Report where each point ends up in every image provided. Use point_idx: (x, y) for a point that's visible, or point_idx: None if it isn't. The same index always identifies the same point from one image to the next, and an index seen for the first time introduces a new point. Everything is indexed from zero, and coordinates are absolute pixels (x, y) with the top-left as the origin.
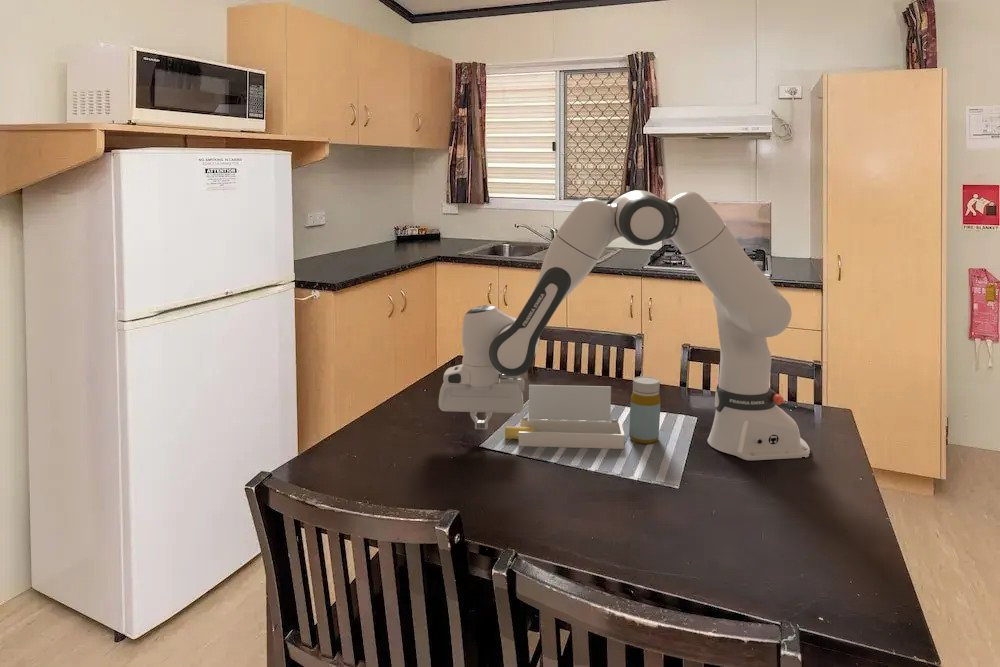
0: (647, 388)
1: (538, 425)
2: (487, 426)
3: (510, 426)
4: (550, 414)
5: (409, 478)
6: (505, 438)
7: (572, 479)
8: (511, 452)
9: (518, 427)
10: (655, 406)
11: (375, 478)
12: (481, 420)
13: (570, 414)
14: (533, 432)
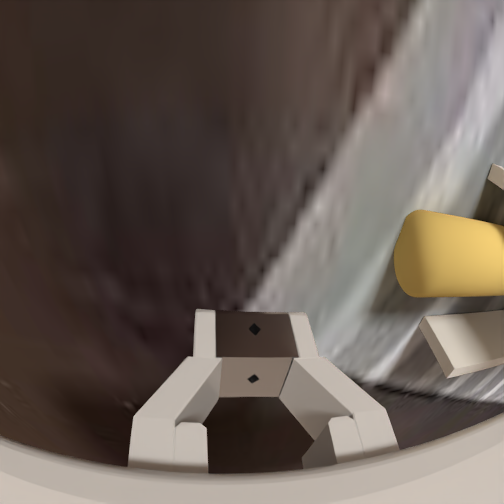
0: None
1: None
2: (304, 317)
3: (466, 270)
4: None
5: (76, 450)
6: (395, 257)
7: (430, 432)
8: (367, 373)
9: (492, 286)
10: None
11: (17, 435)
12: (256, 364)
13: None
14: (494, 363)
